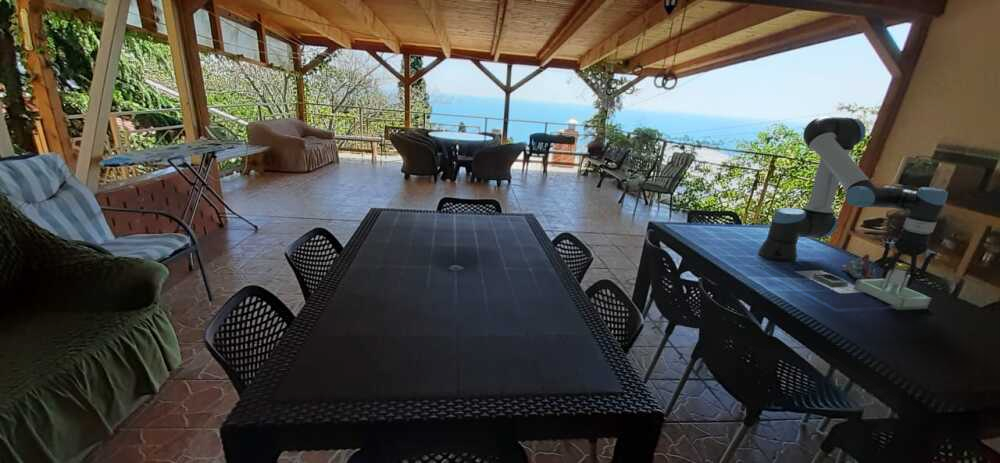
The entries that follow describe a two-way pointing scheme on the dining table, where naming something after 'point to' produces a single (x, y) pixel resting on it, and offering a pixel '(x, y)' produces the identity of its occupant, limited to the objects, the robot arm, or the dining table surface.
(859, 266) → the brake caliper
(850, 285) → the stud plate
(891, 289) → the jar with gold lid
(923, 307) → the bin
